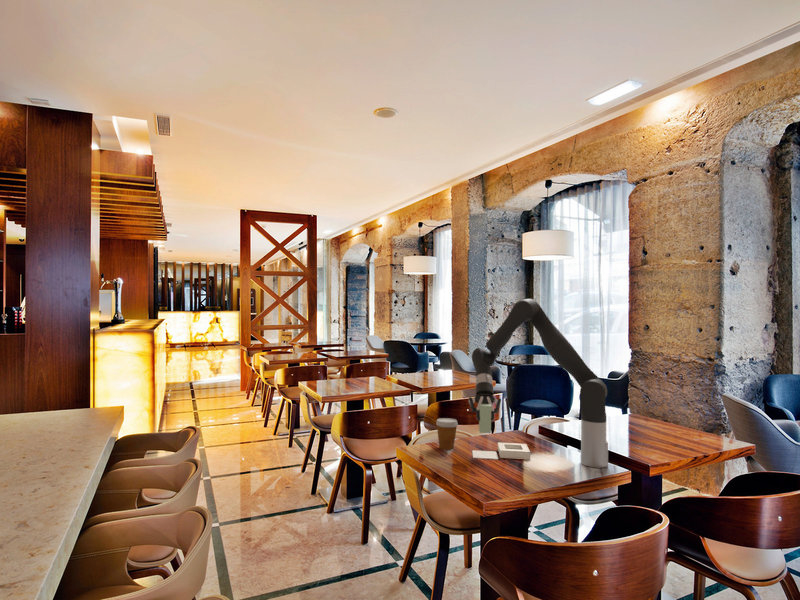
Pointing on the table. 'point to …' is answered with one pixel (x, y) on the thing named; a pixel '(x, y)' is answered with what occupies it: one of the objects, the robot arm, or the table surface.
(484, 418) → the sage block
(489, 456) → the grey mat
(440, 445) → the disposable coffee cup
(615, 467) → the table surface
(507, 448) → the pocket holder
